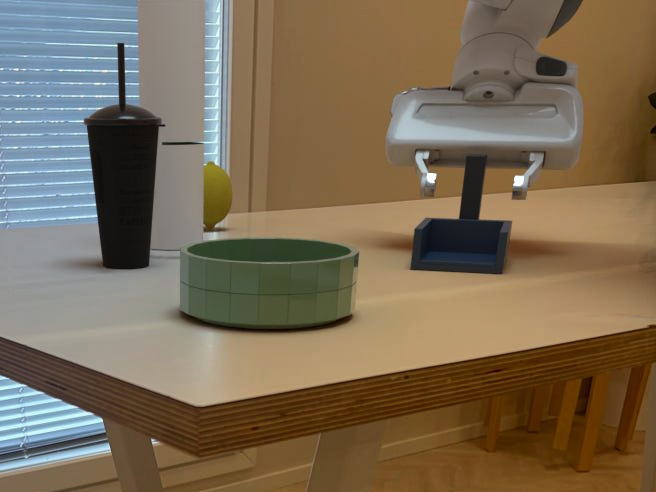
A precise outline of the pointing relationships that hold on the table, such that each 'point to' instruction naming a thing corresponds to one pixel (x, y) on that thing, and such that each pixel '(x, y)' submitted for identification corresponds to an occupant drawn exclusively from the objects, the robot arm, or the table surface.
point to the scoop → (463, 232)
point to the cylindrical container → (175, 114)
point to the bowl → (268, 282)
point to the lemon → (216, 195)
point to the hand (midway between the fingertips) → (472, 194)
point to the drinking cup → (124, 176)
